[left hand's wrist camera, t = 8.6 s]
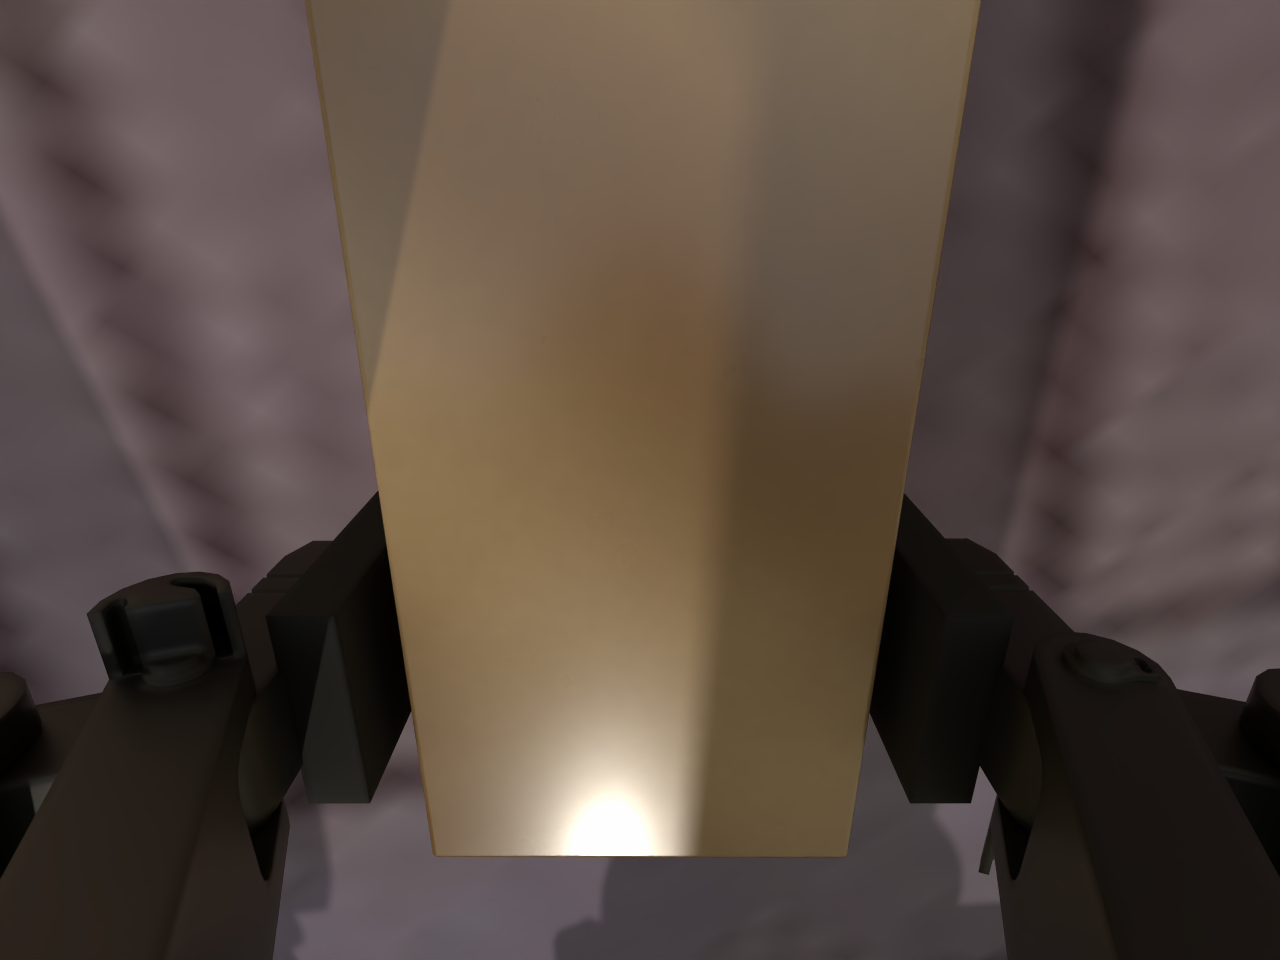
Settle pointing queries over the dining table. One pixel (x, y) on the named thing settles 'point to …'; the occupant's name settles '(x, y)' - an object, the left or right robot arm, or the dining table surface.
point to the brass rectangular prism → (641, 393)
